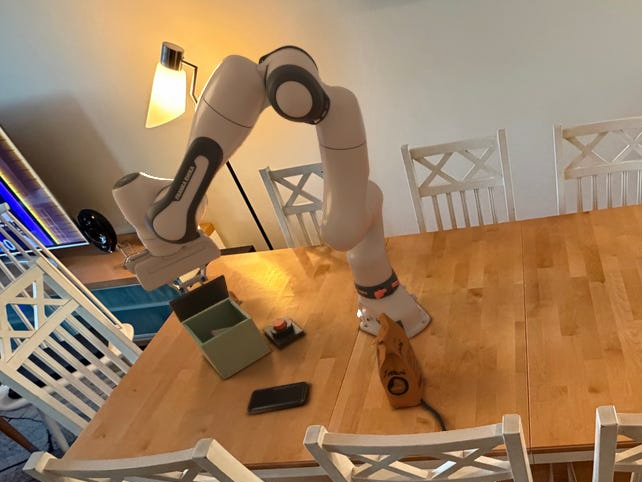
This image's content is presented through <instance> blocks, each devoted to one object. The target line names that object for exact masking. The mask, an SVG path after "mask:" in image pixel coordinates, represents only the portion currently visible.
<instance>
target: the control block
mask: <svg viewBox="0 0 642 482" xmlns="http://www.w3.org/2000/svg"><path fill="white" fill-rule="evenodd" d="M282 319H284V320H285V322H286V324H287V325H286V327H285V328H283V329H282V330H275V328H274V327H273V323H271V324H270V325H269V326H267V327H264V328H263V329H262V331H263V333H264V334H265V335H266V336H267V337H268V338H269V339H270V340H271V341H272V342H273V343H274V344H275V345H276V346H278V347H279V349H280V350H283V349H284V348H285V347H287V346H288V345H291V344H292V343H294V342H295V341H297V340H299V339H300V338H302V337H303V336H305V333H304V330H303V329H301V328H300V327H299V326H298V325H297V324H295V323H294V322H293V321H292V320H291V319H290V318H288V317H287V316H284V317H282Z"/></svg>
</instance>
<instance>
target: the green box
mask: <svg viewBox="0 0 642 482" xmlns="http://www.w3.org/2000/svg"><path fill="white" fill-rule="evenodd" d="M180 324H181V326H182V327H183V328H184V330H185V331H186V332H187V334H188V335H189V337H190V338H191V339H192V342H194V344H195V346H197V348H198V349H199V351H200V352H201V354H202V355H203V356H204V358H205V359H206V360H207V361H208V362H209V364H210V365H211V366H212V367H213V368H214V369H215V371H216V372H217V374H219V376H220V377H221V378H222V379H223V380H227V379H228V378H229V377H231V376H233V375H235V374H236V373H238V372H239V371H241V370H243V369H245V368H247V367H248V366H249V365H251V364H253V363H254V362H256V361H258V360H260V359H261V358H264V357H265V356H266V355H268V354H269V353H271V352H272V351H271V348H270V347H269V346H268V344H267V342H266V340H265V339H264V336H263V335H262V333H261V331H260V330H259V328H258V327H257V324H256V323H255V321H254V319H253V317H251V316H250V315H249V314H248V313H247V312H246V311H245V310H244V309H243V308H242V307H241V306H240V307H239V306H238V305H237V304H236V303H235V302H234V301H233V300H232V299H231V298H230V297H229V298H227V299H225V300H223V301H221V302H219V303H217V304H215V305H213V306H212V307H210V308H208V309H206V310H204V311H202V312H200V313H198V314H196V315H195V316H193V317H191V318H189V319H187V320H185V321H183V322H181V323H180ZM229 327H231V328H230V329H228V330H226V331H224V332H222V333H221V334H219V335H217V336H215V337H213V336H212V334H211V331H213V330H219V329H224V328H229Z"/></svg>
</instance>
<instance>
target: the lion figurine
mask: <svg viewBox="0 0 642 482" xmlns="http://www.w3.org/2000/svg"><path fill="white" fill-rule="evenodd" d="M228 293H229V297H230V298H231V299H232V300H233V301H234V302H235V303H236V304H237V305H238V306H239V307H240V308H241V305H240V304H241V300H239V297H237V295H236V294H235V293H234V291H232V290H229V289H228ZM229 297H228V298H229Z"/></svg>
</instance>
